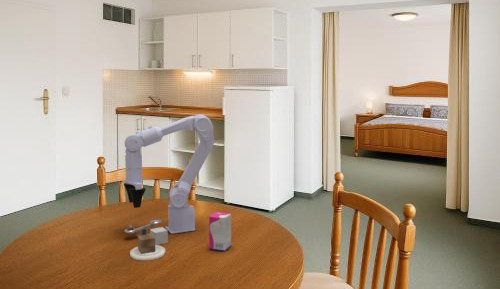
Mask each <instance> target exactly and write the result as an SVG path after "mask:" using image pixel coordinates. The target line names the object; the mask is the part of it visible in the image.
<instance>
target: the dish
mask: <svg viewBox="0 0 500 289" xmlns="http://www.w3.org/2000/svg"><path fill="white" fill-rule="evenodd" d="M165 255H166V248H165V247H163V246H161V245H155V252H151V253H144V254H141V253H140V251H139V250H138V246H136V247H133V248H132V249H131V250H130V251H129V256H130V258H131V259H133V260H136V261H140V262H141V261H144V262H145V261H153V260H157V259H160V258H162V257H164V256H165Z"/></svg>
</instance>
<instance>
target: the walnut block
mask: <svg viewBox="0 0 500 289" xmlns="http://www.w3.org/2000/svg"><path fill="white" fill-rule="evenodd" d="M137 247H138V250H139V251H140V253H141V254H144V253H151V252H155V237H154V236H153V235H152V234H150V233H149V234H147V235H140V236H138V238H137Z"/></svg>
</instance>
